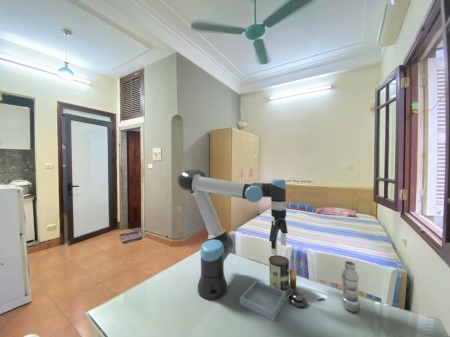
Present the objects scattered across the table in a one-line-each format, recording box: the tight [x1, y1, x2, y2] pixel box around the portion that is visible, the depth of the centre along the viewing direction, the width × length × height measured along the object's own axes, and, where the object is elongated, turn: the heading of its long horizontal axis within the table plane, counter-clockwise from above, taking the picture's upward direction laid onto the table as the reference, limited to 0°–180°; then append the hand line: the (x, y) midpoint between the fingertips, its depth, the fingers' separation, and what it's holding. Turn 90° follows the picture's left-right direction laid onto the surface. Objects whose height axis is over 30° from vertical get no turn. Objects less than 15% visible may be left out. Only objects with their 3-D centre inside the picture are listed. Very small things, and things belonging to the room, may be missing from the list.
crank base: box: [288, 293, 308, 309], centre depth 87 cm, size 8×8×1 cm
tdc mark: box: [316, 297, 326, 301], centre depth 88 cm, size 4×1×1 cm, turn 96°
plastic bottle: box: [340, 260, 360, 313], centre depth 82 cm, size 6×7×20 cm
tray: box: [239, 280, 287, 322], centre depth 87 cm, size 16×16×3 cm
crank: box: [289, 268, 304, 302], centre depth 90 cm, size 12×5×8 cm, turn 174°
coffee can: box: [268, 254, 290, 293], centre depth 98 cm, size 10×10×14 cm
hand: (279, 249), depth 98 cm, fingers open, 13 cm apart
